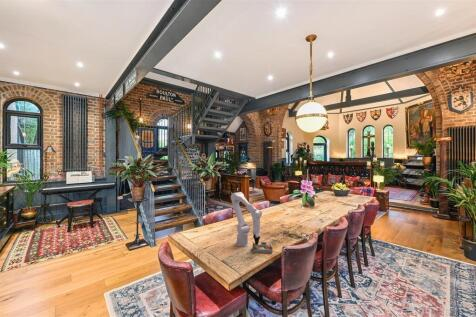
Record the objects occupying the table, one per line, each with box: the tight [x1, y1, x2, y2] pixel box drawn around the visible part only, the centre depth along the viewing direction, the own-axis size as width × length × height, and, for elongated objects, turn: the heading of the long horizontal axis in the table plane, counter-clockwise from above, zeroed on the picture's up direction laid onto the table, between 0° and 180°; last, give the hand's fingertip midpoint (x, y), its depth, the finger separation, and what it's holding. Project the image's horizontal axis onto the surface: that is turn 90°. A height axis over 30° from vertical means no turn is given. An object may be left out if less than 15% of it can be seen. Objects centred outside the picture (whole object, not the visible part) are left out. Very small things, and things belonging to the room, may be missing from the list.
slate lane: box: [253, 242, 273, 254], centre depth 163 cm, size 14×8×4 cm, turn 88°
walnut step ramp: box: [252, 242, 260, 253], centre depth 163 cm, size 6×8×5 cm
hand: (256, 242), depth 163 cm, fingers open, 7 cm apart
